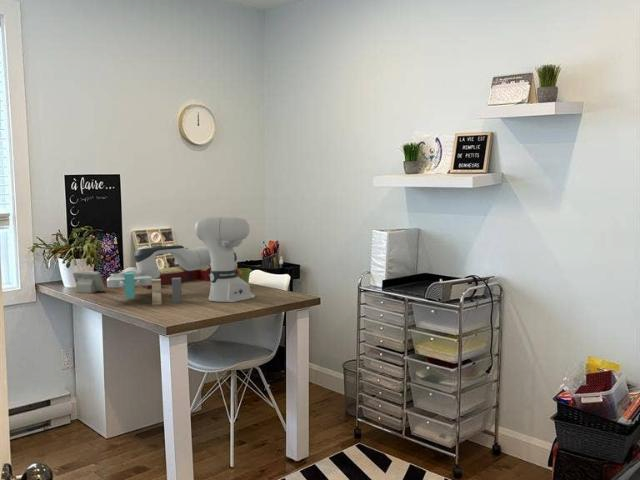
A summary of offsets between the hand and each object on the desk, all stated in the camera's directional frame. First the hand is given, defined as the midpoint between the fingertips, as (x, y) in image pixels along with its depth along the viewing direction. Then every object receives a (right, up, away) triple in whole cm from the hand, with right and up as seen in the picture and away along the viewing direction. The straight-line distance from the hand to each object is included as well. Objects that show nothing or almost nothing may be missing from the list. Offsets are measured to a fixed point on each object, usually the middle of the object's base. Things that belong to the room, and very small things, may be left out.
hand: (129, 284), depth 281 cm
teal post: (0, -6, +1) cm, 6 cm away
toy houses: (+8, -4, +60) cm, 60 cm away
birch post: (+12, -9, +3) cm, 15 cm away
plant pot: (+45, -4, +48) cm, 66 cm away
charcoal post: (+20, -9, +7) cm, 23 cm away
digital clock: (-31, -6, +34) cm, 46 cm away
